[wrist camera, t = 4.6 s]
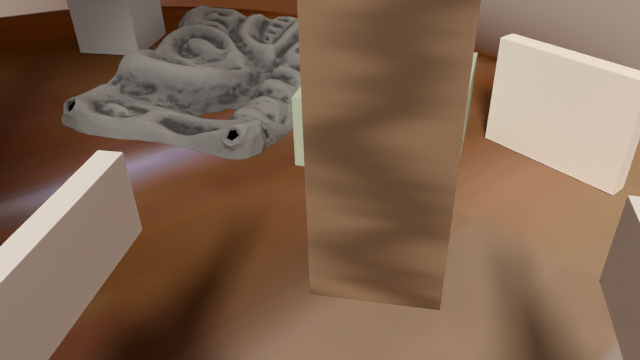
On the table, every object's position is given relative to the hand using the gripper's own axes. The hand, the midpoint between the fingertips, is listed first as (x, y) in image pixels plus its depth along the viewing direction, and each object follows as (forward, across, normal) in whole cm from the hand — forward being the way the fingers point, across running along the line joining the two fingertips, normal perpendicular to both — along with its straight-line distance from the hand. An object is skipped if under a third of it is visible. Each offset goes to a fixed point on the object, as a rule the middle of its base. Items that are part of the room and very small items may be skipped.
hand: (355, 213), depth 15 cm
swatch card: (+21, +10, -10) cm, 25 cm away
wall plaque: (+30, -16, -11) cm, 36 cm away
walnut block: (+10, 0, -10) cm, 14 cm away
